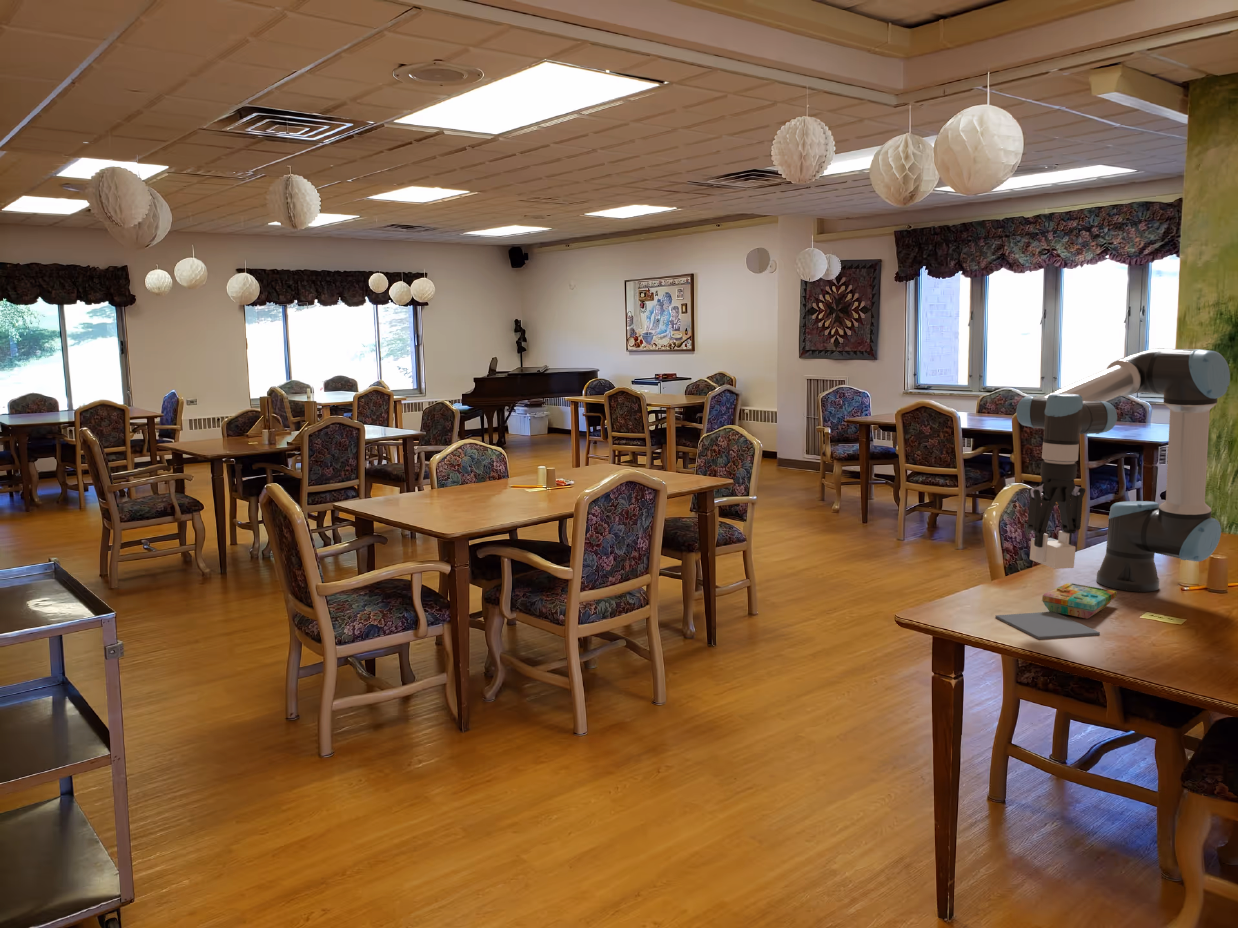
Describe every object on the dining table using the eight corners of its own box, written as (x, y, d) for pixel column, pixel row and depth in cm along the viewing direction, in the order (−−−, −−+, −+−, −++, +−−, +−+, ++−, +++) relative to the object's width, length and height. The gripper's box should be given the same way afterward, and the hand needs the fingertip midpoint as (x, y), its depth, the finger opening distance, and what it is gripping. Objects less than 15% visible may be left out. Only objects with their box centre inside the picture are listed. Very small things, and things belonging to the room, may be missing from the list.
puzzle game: (1043, 591, 230) (1068, 579, 245) (1041, 610, 230) (1066, 596, 245) (1094, 601, 222) (1117, 588, 237) (1092, 620, 223) (1115, 606, 238)
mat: (1052, 613, 230) (1053, 611, 230) (1099, 634, 215) (1099, 632, 215) (995, 617, 227) (995, 615, 227) (1038, 639, 211) (1038, 636, 211)
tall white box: (1074, 567, 214) (1075, 546, 214) (1054, 568, 213) (1056, 547, 213) (1048, 558, 223) (1050, 537, 222) (1029, 559, 222) (1031, 538, 221)
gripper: (1081, 458, 220) (1073, 554, 224) (1014, 459, 216) (1007, 557, 220) (1104, 462, 213) (1096, 562, 217) (1035, 464, 209) (1027, 565, 213)
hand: (1051, 559), depth 218 cm, fingers closed on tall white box, 5 cm apart
